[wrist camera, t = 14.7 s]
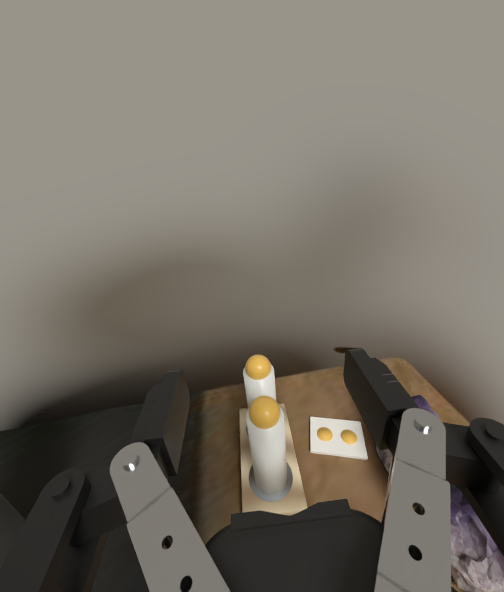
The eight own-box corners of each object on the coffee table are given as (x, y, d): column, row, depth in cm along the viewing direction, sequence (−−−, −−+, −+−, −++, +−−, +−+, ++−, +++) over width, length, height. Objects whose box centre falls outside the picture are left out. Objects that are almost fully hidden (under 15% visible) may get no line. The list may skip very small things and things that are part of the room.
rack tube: (246, 434, 41) (235, 364, 35) (257, 412, 45) (249, 345, 39) (271, 444, 40) (265, 372, 33) (281, 421, 43) (277, 351, 37)
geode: (343, 434, 42) (354, 384, 38) (404, 422, 44) (420, 374, 40) (465, 629, 23) (511, 570, 19) (558, 589, 26) (615, 530, 22)
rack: (307, 514, 32) (307, 508, 32) (243, 522, 32) (242, 517, 32) (284, 408, 47) (284, 403, 46) (240, 413, 47) (239, 408, 46)
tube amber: (249, 486, 35) (236, 410, 28) (262, 455, 38) (254, 382, 32) (280, 501, 33) (274, 423, 26) (291, 467, 36) (288, 392, 30)
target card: (310, 452, 39) (310, 450, 39) (310, 418, 44) (310, 416, 44) (367, 459, 37) (367, 457, 37) (360, 423, 43) (360, 421, 42)
